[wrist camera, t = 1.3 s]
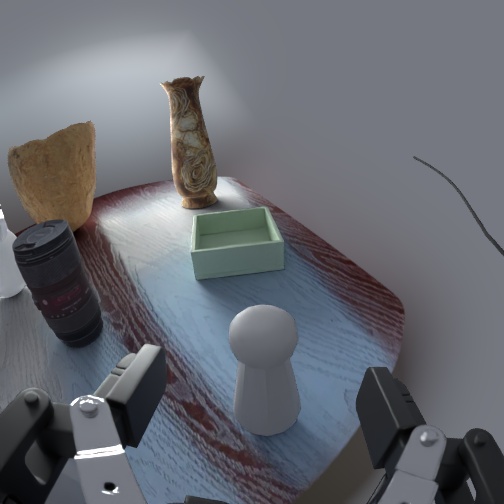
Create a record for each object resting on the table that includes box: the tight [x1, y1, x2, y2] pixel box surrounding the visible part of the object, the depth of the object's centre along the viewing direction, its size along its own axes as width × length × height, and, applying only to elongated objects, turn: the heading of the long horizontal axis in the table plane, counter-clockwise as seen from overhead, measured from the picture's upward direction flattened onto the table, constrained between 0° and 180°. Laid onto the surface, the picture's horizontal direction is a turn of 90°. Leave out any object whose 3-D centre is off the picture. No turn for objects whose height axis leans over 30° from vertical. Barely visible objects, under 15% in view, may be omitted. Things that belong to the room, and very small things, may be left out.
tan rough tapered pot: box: [8, 121, 96, 232], centre depth 56 cm, size 22×22×25 cm
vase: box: [160, 76, 217, 209], centre depth 62 cm, size 10×11×30 cm
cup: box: [26, 444, 86, 504], centre depth 14 cm, size 7×10×9 cm
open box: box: [191, 207, 284, 280], centre depth 48 cm, size 13×13×5 cm
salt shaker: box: [229, 305, 301, 436], centre depth 21 cm, size 6×6×13 cm
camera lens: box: [12, 219, 103, 348], centre depth 30 cm, size 8×8×15 cm
